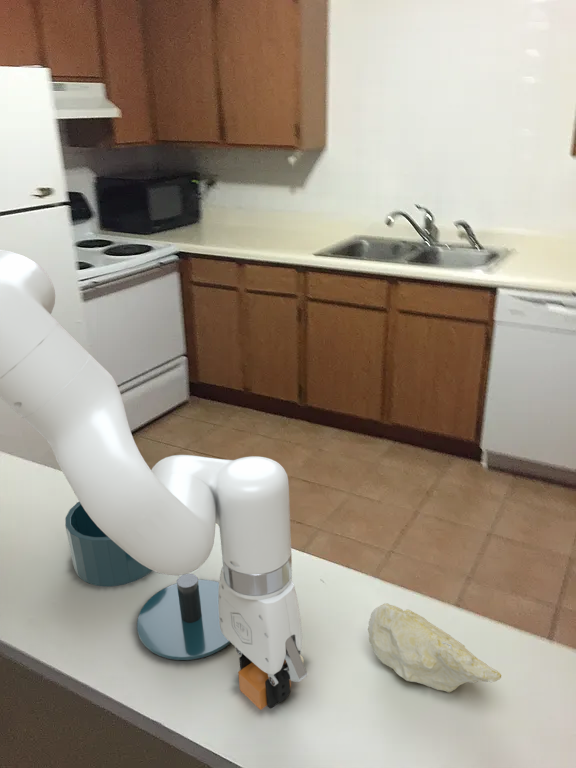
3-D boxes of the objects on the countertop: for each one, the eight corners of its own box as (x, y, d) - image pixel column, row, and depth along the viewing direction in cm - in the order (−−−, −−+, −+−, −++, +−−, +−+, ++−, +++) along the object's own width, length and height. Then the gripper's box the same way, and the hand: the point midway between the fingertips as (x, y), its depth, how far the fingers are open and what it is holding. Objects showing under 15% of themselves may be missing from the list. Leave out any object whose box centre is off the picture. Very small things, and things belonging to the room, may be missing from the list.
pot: (134, 595, 96) (127, 547, 93) (56, 577, 101) (46, 530, 97) (179, 539, 108) (173, 495, 105) (106, 525, 112) (99, 482, 109)
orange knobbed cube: (291, 653, 86) (290, 629, 84) (313, 671, 83) (312, 647, 81) (239, 691, 80) (237, 666, 79) (260, 711, 78) (259, 686, 76)
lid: (218, 675, 83) (214, 631, 80) (116, 648, 87) (109, 606, 84) (261, 596, 95) (258, 556, 92) (170, 577, 100) (165, 538, 97)
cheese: (356, 644, 89) (349, 659, 75) (381, 593, 90) (378, 598, 76) (464, 706, 85) (477, 734, 71) (488, 652, 86) (506, 669, 72)
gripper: (185, 546, 77) (199, 665, 84) (282, 623, 65) (288, 753, 72) (237, 519, 81) (246, 634, 88) (336, 587, 69) (337, 712, 77)
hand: (265, 686), depth 80 cm, fingers closed on orange knobbed cube, 4 cm apart
